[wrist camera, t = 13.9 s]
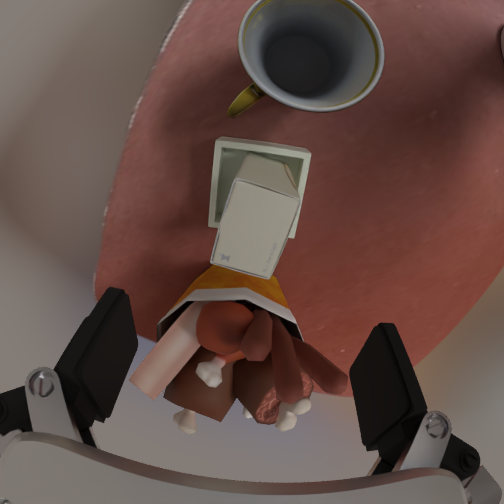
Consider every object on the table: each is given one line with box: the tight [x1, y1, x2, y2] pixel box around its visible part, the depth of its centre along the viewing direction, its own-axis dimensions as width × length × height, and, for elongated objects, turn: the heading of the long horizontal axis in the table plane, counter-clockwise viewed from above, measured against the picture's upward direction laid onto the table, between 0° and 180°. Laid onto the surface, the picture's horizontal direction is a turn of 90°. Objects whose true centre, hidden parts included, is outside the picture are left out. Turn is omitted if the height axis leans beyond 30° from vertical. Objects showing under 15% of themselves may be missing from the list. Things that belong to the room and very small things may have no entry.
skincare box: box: [210, 152, 301, 279], centre depth 23 cm, size 6×4×12 cm
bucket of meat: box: [129, 264, 348, 434], centre depth 27 cm, size 20×16×20 cm
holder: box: [208, 136, 311, 238], centre depth 27 cm, size 9×9×4 cm
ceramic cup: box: [227, 0, 385, 118], centre depth 19 cm, size 13×10×10 cm
